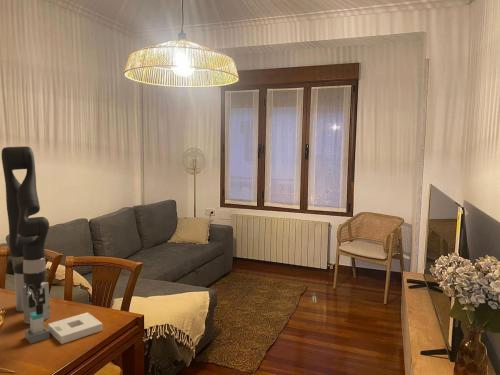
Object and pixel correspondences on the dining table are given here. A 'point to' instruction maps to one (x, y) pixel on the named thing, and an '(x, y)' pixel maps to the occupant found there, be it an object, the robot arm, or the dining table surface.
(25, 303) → the skincare box
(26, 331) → the holster
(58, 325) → the port plate
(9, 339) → the dining table surface
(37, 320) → the plug
